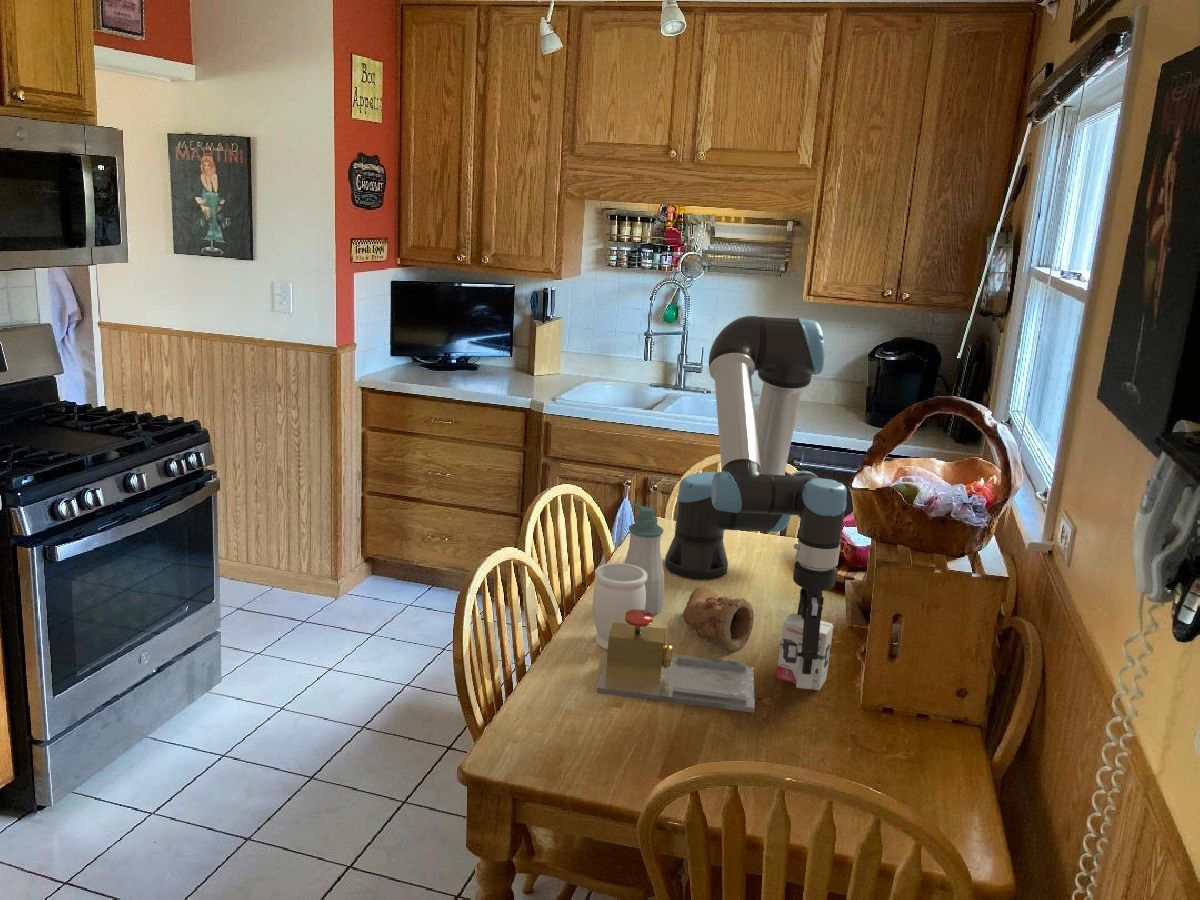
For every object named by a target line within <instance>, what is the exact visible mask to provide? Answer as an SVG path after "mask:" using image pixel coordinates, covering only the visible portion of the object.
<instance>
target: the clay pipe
mask: <svg viewBox="0 0 1200 900" xmlns="http://www.w3.org/2000/svg"><path fill="white" fill-rule="evenodd" d="M753 609H754V608H753V606H752V604H751V602H749V601H747V600H746V598H744V597H738V598H729V597H727V596H719V594H718V593H717V591H715V590H714V589H713V588H712V587H710V586H708V585H705V586H704V585H703V586H699V587H696V588H695V589H694V590H693V591H692V593H691V594H690V595H689V599H688V601H687V603H686V606H685V607H684V610H683V613H682V619H683V621H684V623H685V624H686V625H687V626H688V627H690V629H691V630H693V631H695V634H696V636H698V637H699V638H702V639H705V640H707V641H708V642H709V643H712V644H715V645H720V646H722V647H723V648H724V649H725V650H727V651H729V652H735V651H739V650H741V649H742V648H743V647H744V646H745V644H747V642H748V640H749V638H750V636H751V633H752V630H753V626H754V618H755V614H754V610H753Z"/></svg>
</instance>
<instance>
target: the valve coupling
mask: <svg viewBox="0 0 1200 900" xmlns="http://www.w3.org/2000/svg"><path fill="white" fill-rule="evenodd" d="M653 618H654V616H653V615H652V614H651V613H650V612H647V611H644V610H630V611H628V612H626V614H625V621H626V622H627V623H628V624H623V623H615V622H613V623H612V627H611V630H610V633H609V638H608V650H606V651H607V652H606V655H605V658H604V662H603V665H602V669H601V671H600V672H601V673H600V676H599V679H598V681H597V686H596V693H597V694H604V695H605V694H606V695H614V696H619V697H620V696H621V697H629V698H635V699H636V698H637V699H643V700H645V699H646V700H652V701H659V702H666V703H667V702H668V703H674V704H675V703H676V704H683V705H692V706H697V707H698V706H699V707H706V708H713V709H721V710H728V711H729V710H730V711H736V712H744V713H745V712H746V713H752V714H754V713H755V709H756V708H755V703H756V702H755V681H754V680H755V679H754V678H755V677H754V675H755V674H754V667H753V666H747V663H746V662H742V661H735V660H734V661H731V660H725V659H717V658H710V657H709V658H707V657H699V656H692V655H683V654H677V657H673V651H674V644H672V643H666V633H667V628H666V627H664V628H663V627H654V626H650V625H652V623H653V620H654V619H653Z"/></svg>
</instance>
